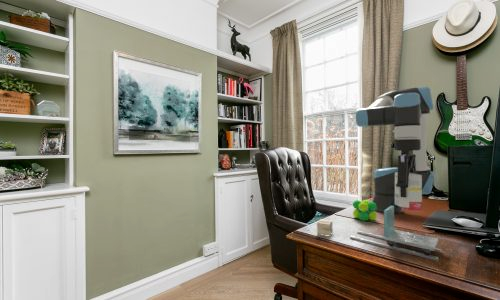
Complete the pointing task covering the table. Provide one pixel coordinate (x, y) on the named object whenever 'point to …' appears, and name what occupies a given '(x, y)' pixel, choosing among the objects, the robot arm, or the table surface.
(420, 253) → the track
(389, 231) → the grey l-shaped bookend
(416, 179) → the ink box
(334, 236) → the table surface
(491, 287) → the table surface
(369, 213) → the molecule model
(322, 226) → the beech block
